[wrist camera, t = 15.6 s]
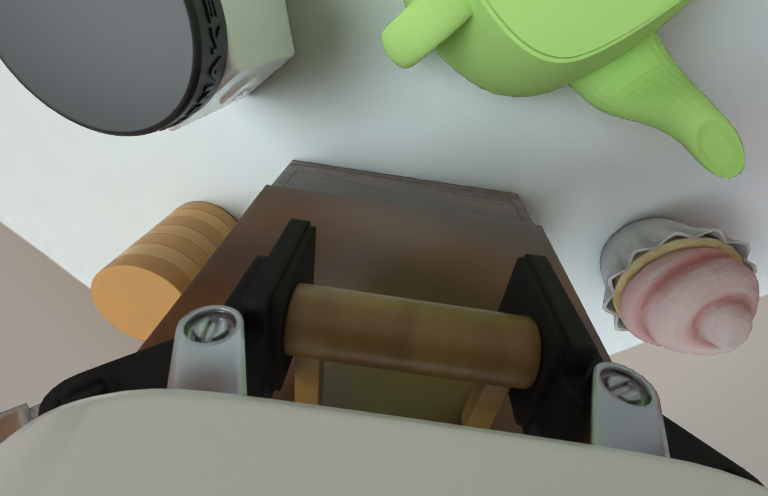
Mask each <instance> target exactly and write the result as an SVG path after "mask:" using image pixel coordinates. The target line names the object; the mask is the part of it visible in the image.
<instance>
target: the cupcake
mask: <svg viewBox="0 0 768 496" xmlns="http://www.w3.org/2000/svg"><path fill="white" fill-rule="evenodd" d="M749 251H750V244H749V243H747V242H743V241H738V240H732V239H726V237H725V235H724V233H723V231H722V230H721V229H719V228H693V227H691V226H688V225H686V224H683V223H680V222H677V221H674V220H671V219H666V218H648V219H643V220H639V221H636V222H633V223H631V224H628V225H627V226H625V227H623V228H622V229H620V230H619V231H618V232H616V233H615V234H614V235H613V236H612V237H611V238H610V239H609V240H608V242H607V243H606V245H605V247H604V249H603V251H602V254H601V257H600V269H601V272H602V276H603V280H604V285H605V294H604V300H603V305H602V308H603V309H604V310H605V311H606V312H608V313H610V314H613V315H614V326H615V330H619V331H629V332H631V333H632V334H633V335H634V336H635V337H637V338H638V339H640V340H643V341H645V342H648V343H651V344H654V345H657V346H661V347H664V348H666V349H669V350H672V351H676V352H680V353H686V354H694V355H716V354H722V353H728V352H731V351H732V350H734V349H735V348H737V347H738V346H739V345H741V344H742V343H744V342H745V341H746V340H747V338H748V336H749V334H750V332H751V330H752V321H753V319H754V317H755V314H756V311H757V306H758V301H759V284H758V280H757V278H756V276H755V274H756V271H757V269H756V266H755V264H753V263H751V262H749V261H747V257H748V254H749Z"/></svg>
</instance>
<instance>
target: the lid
mask: <svg viewBox="0 0 768 496" xmlns="http://www.w3.org/2000/svg"><path fill="white" fill-rule="evenodd" d="M291 218H293V219H300V220H307V221H310V224H311V226H316V247H315V268H314V285H313V284H306V283H298V284H297V285H296V286H295V288H294V289H293V291H292V294H291V296H290V299H289V302H288V306H287V310H286V314H285V319H284V326H283V335H282V345H283V351H284V353H285V354H286V355H289V356H293V359H292V362H291V364H290V367H289V370H288V373H287V376H286V378H285V381H284V384H283V387H282V389H281V391H275V390H274V392H273V395H272V398H271V399H276V400H284V401H291V402H298V403H306V404H313V405H320V406H328V407H335V408H342V409H349V410H357V411H364V412H371V413H378V414H385V415H392V416H399V417H406V418H413V419H420V420H427V421H434V422H441V423H448V424H455V425H462V426H469V427H476V428H483V429H490V430H497V431H504V432H510V433H517V434H524V433H523V430H522V426H519V425H517V424H516V422H515V419H514V415H513V411H512V407H511V403H510V399H509V395H508V392H509V390H510V388H517V389H528V388H530V387H531V386H532V385H533V384H534V382H535V381H536V379H537V376H538V373H539V370H540V365H541V358H542V341H541V334H540V330H539V327H538V325H537V323H536V321H535V320H534V319H533V318H531V317H529V316H524V315H517V314H510V313H504V312H498V309H499V306H500V304H501V301H502V298H503V296H504V293H505V290H506V287H507V285H508V282H509V279H510V277H511V274H512V271H513V269H514V266H515V263H516V261H517V259H518V258H519V257H523V256H524V255H525V254H527V253H528V254H534V255H541V256H546V257H547V259H548V261H549V263H550V264H551V266H552V268H553V270H554V272H555V273H556V275H557V277H558V279H559V281H560V282H561V284H562V286H563V288H564V290H565V291H566V293H567V295H568V297H569V299H570V300H571V302H572V304H573V306H574V307H575V309H576V311H577V313H578V315H579V316H580V318H581V320H582V322H583V324H584V325H585V327H586V329H587V331H588V333H589V334H590V336H591V338H592V340H593V342H594V343H595V345H596V347H597V349H598V352H599V354H600V356H601V358H602V359H603V361H604V362H612V361H611V359H610V357H609V355H608V353H607V351H606V350H605V348H604V346H603V344H602V342H601V340H600V338H599V336H598V334H597V332H596V330H595V328H594V326H593V324H592V323H591V321H590V319H589V317H588V315H587V313H586V311H585V309H584V307H583V305H582V303H581V301H580V299H579V297H578V296H577V294H576V292H575V290H574V288H573V286H572V284H571V282H570V280H569V278H568V276H567V274H566V272H565V270H564V269H563V267H562V265H561V263H560V261H559V259H558V257H557V255H556V253H555V251H554V249H553V247H552V245H551V243H550V242H549V240H548V238H547V236H546V234H545V232H544V230H543V228H542V226H539V225H533V224H526V223H519V222H513V221H506V220H499V219H493V218H486V217H479V216H472V215H466V214H459V213H452V212H446V211H439V210H432V209H426V208H419V207H412V206H406V205H399V204H392V203H386V202H379V201H372V200H365V199H359V198H352V197H345V196H339V195H332V194H325V193H319V192H312V191H305V190H299V189H292V188H285V187H279V186H272V185H266V186H265V187H264V188H263V190H262V191H261V192H260V193H259V195H258V196H257V197H256V199H255V200H254V201H253V203H252V204H251V205H250V206H249V208H248V209H247V210H246V212H245V213H244V214H243V215H242V217H241V218H240V219H239V221H238V222H237V223H236V224H235V226H234V227H233V228H232V230H231V231H230V232H229V234H228V235H227V236H226V237H225V239H224V240H223V241H222V243H221V244H220V245H219V246H218V248H217V249H216V250H215V252H214V253H213V254H212V255H211V257H210V258H209V259H208V261H207V262H206V263H205V265H204V266H203V267H202V268H201V270H200V271H199V272H198V274H197V275H196V276H195V277H194V279H193V280H192V281H191V283H190V284H189V285H188V286H187V288H186V289H185V290H184V292H183V293H182V294H181V295H180V297H179V298H178V299H177V301H176V302H175V303H174V305H173V306H172V307H171V308H170V310H169V311H168V312H167V314H166V315H165V316H164V317H163V319H162V320H161V321H160V323H159V324H158V325H157V326H156V328H155V329H154V330H153V332H152V333H151V334H150V336H149V337H148V338H147V339H146V341H145V342H144V343H143V345H142V346H141V347H140V348H139V350H138V351H141V350H144V349H147V348H149V347H152V346H155V345H157V344H160V343H163V342H165V341H168V340H171V339H173V338H175V332H176V328H177V325H178V323H179V321H180V320H181V319H182V318H183V317H184V316H185V315H186V314H188V313H190V312H191V311H193V310H195V309H198V308H200V307H204V306H210V305H224V304H225V302H226V301H227V299H228V298H229V296H230V295H231V293H232V292H233V290H234V289H235V287H236V286H237V284H238V283H239V281H240V280H241V278H242V277H243V275H244V274H245V272H246V271H247V269H248V268H249V266H250V265H251V263H252V261H253V260H254V258H255V257H256V256H258V255H262V256H269V254H270V252H271V251H272V249H273V247H274V246H275V244H276V242H277V241H278V239H279V238H280V236H281V234H282V233H283V231H284V229H285V228H286V226H287V224H288V223H289V221H290V220H291ZM138 351H137V352H138Z"/></svg>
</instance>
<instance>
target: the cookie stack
mask: <svg viewBox="0 0 768 496" xmlns="http://www.w3.org/2000/svg"><path fill="white" fill-rule="evenodd" d="M236 223H237V221H236V220H235V219H234V218H233V217H232V216H231V215H230V214H229V213H227V212H226V211H225V210H223V209H221V208H220V207H218V206H215V205H213V204H210V203H205V202H190V203H186V204H184V205H182V206H180V207H178V208H177V209H176V210H175V211H173V212H172V213H171V214H170V215H169V216H167V217H166V218H165V219H164V220H162V221H161V222H160V223H159V224H157V225H156V226H155V227H154V228H153V229H151V230H150V231H149V232H148V233H146V234H145V235H144V236H143V237H141V238H140V239H139V240H138V241H137V242H135V243H134V244H133V245H132V246H130V247H129V248H128V249H127V250H125V251H124V252H123V253H122V254H121V255H119V256H118V257H117V258H116V259H114V260H113V261H112V262H111V263H109V264H108V265H107V266H106V267H104V268H103V269H102V270H101V271H100V272H99V273H97V274H96V276H95V277H94V279H93V281H92V285H91V295H92V299H93V302H94V304H95V306H96V308H97V309H98V311H99V312H100V314H101V315H102V316H103V317H104V318H105V319H106V320H107V321H108V322H109V323H110V324H112V325H113V326H114V327H115V328H117V329H118V330H120V331H122V332H124V333H125V334H127V335H129V336H132V337H134V338H137V339H140V340H143V341H146V339H147V338H148V337H149V336H150V334H151V333H152V332H153V330H154V329H155V328H156V326H157V325H158V324H159V323H160V321H161V320H162V319H163V317H164V316H165V315H166V314H167V312H168V311H169V310H170V308H171V307H172V306H173V305H174V303H175V302H176V301H177V299H178V298H179V297H180V295H181V294H182V293H183V292H184V290H185V289H186V288H187V286H188V285H189V284H190V283H191V281H192V280H193V279H194V277H195V276H196V275H197V274H198V272H199V271H200V270H201V268H202V267H203V266H204V265H205V263H206V262H207V261H208V259H209V258H210V257H211V255H212V254H213V253H214V252H215V250H216V249H217V248H218V246H219V245H220V244H221V243H222V241H223V240H224V239H225V237H226V236H227V235H228V234H229V232H230V231H231V230H232V228H233V227H234V226H235V224H236Z"/></svg>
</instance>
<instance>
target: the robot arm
mask: <svg viewBox="0 0 768 496" xmlns="http://www.w3.org/2000/svg"><path fill="white" fill-rule="evenodd" d="M315 247H316V226H311V224H310V221H307V220H300V219H293V218H291V220H290V221H289V223H288V224H287V226H286V228H285V229H284V231H283V233H282V234H281V236H280V238H279V239H278V241H277V242H276V244H275V246H274V247H273V249H272V251H271V252H270V254H269V256H262V255H258V256H256V257H255V258H254V260H253V261H252V263H251V265H250V266H249V268H248V269H247V271H246V272H245V274H244V275H243V277H242V278H241V280H240V281H239V283H238V284H237V286H236V287H235V289H234V290H233V292H232V293H231V295H230V296H229V298H228V299H227V301H226V302H225V304H224V305H210V306H204V307H200V308H198V309H195V310H193V311H191V312H190V313H188V314H186V315H185V316H184V317H183V318H182V319H181V320H180V321H179V323H178V325H177V328H176V332H175V338H173V339H171V340H168V341H165V342H163V343H160V344H157V345H155V346H152V347H149V348H147V349H144V350H141V351H138V352H136V353H133V354H131V355H128V356H125V357H122V358H120V359H117V360H114V361H111V362H109V363H106V364H103V365H101V366H98V367H95V368H93V369H90V370H87V371H85V372H82V373H79V374H77V375H75V376H72V377H70V378H68V379H66V380H64V381H63V382H61V383H60V384H58V385H57V386H56V387H54V388H53V389H52V390H51V391H50V392H49V393H48V394H47V395H46V396H45V397H44V399H43V401H42V403H41V404H38V405H36V406H33V407H31V408H29V407H28V405H27V403H25V404H22V405H19V406H17V407H14V408H12V409H9V410H6V411H4V412H1V413H0V496H768V488H766V487H765V486H764V485H763V484H762V483H761V482H760V481H758V479H756V478H755V477H754V476H753V475H751V474H750V473H749V472H747V471H746V470H745V469H743V468H742V467H740V466H739V465H737V464H736V463H734V462H733V461H731V460H729V459H728V458H727V457H725V456H724V455H722V454H721V453H719V452H718V451H716V450H715V449H713V448H712V447H710V446H709V445H707V444H706V443H704V442H702V441H701V440H700V439H698V438H696V437H695V436H693V435H692V434H691V433H689V432H688V431H686V430H685V429H683V428H682V427H680V426H679V425H677V424H676V423H674V422H672V421H671V420H670V419H668V418H667V417H665V416H664V415H662V410H661V404H660V399H659V396H658V394H657V392H656V390H655V389H654V387H653V386H652V385H651V383H649V382H648V381H647V380H646V379H645V378H644V377H643V376H642V375H640V374H639V373H637V372H636V371H634V370H633V369H630V368H628V367H626V366H624V365H621V364H618V363H615V362H604V361H603V359H602V358H601V356H600V354H599V352H598V349H597V347H596V345H595V343H594V342H593V340H592V338H591V336H590V334H589V333H588V331H587V329H586V327H585V325H584V324H583V322H582V320H581V318H580V316H579V315H578V313H577V311H576V309H575V307H574V306H573V304H572V302H571V300H570V299H569V297H568V295H567V293H566V291H565V290H564V288H563V286H562V284H561V282H560V281H559V279H558V277H557V275H556V273H555V272H554V270H553V268H552V266H551V264H550V263H549V261H548V259H547V257H546V256H541V255H534V254H528V253H527V254H525V255H524V256H523V257H519V258H518V259H517V261H516V263H515V266H514V269H513V271H512V274H511V277H510V279H509V282H508V285H507V287H506V290H505V293H504V296H503V298H502V301H501V304H500V306H499V309H498V312H504V313H510V314H517V315H524V316H529V317H531V318H533V319H534V320H535V321H536V323H537V325H538V327H539V330H540V334H541V341H542V358H541V365H540V370H539V373H538V376H537V379H536V381H535V382H534V384H533V385H532V386H531V387H530V388H528V389H517V388H510V390H509V392H508V395H509V399H510V403H511V407H512V411H513V415H514V419H515V422H516V424H517V425H519V426H522V430H523V433H524V434H517V433H510V432H504V431H497V430H490V429H483V428H476V427H469V426H462V425H455V424H448V423H441V422H434V421H427V420H420V419H413V418H406V417H399V416H392V415H385V414H378V413H371V412H364V411H357V410H349V409H342V408H335V407H328V406H320V405H313V404H306V403H298V402H291V401H284V400H276V399H271V398H272V395H273V392H274V390H275V391H281V389H282V387H283V384H284V381H285V378H286V376H287V373H288V370H289V367H290V364H291V362H292V359H293V356H289V355H286V354H285V353H284V351H283V345H282V335H283V326H284V319H285V314H286V310H287V306H288V302H289V299H290V296H291V294H292V291H293V289H294V288H295V286H296V285H297V284H298V283H306V284H313V285H314V268H315Z"/></svg>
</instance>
